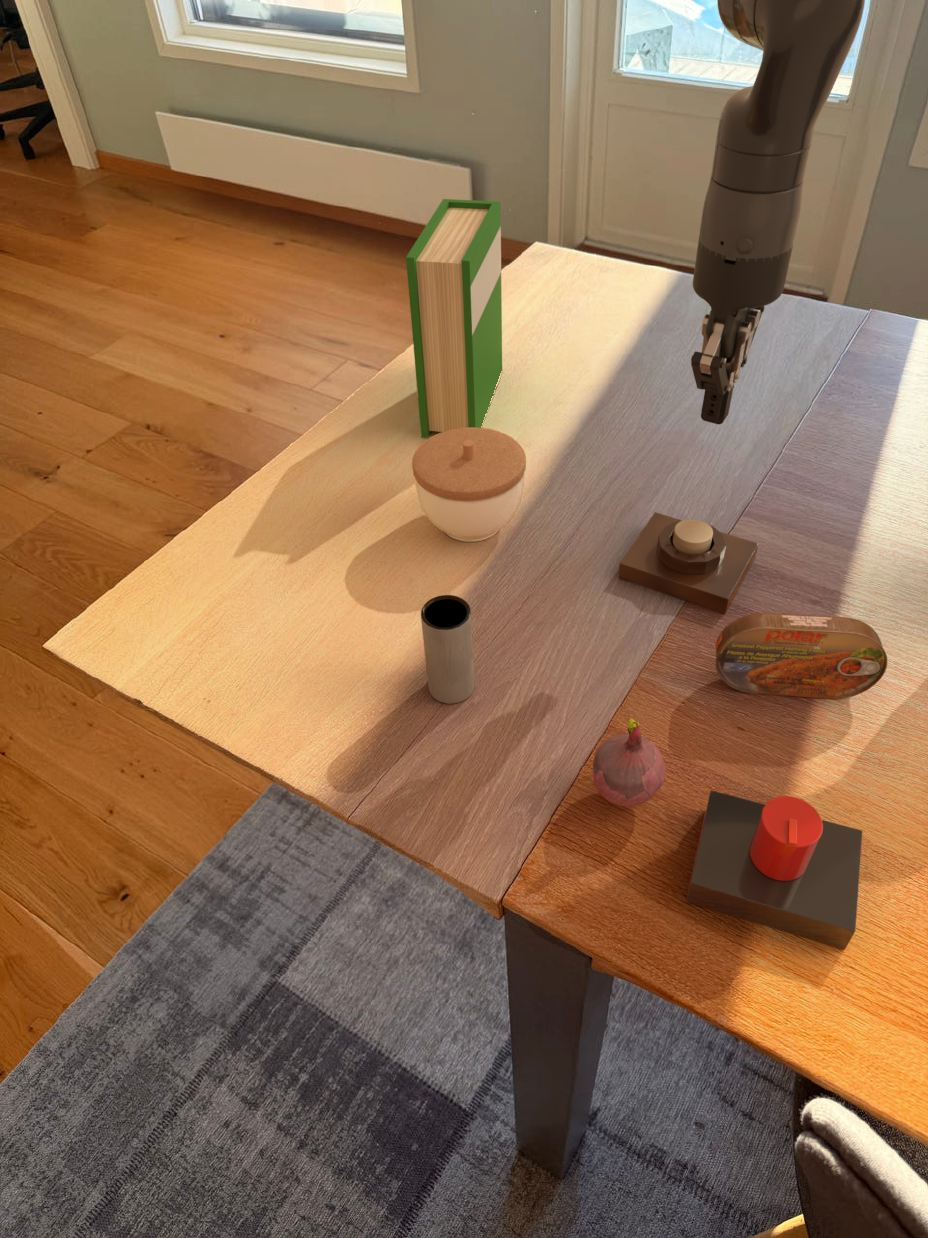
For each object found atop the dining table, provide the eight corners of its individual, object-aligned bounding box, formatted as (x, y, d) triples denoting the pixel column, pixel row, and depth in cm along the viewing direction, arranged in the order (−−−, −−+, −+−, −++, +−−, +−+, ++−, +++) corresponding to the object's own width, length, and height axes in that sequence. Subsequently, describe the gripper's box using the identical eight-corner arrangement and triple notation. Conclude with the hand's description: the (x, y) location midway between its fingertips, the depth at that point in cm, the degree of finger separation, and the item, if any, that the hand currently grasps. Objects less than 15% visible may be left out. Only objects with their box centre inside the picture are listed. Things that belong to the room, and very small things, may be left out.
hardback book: (475, 442, 118) (469, 260, 101) (421, 436, 120) (405, 257, 103) (502, 373, 130) (500, 201, 113) (452, 369, 132) (443, 198, 115)
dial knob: (750, 826, 73) (763, 788, 69) (807, 837, 72) (823, 799, 68) (748, 874, 70) (761, 837, 66) (808, 886, 69) (824, 850, 65)
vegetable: (655, 766, 81) (669, 694, 74) (664, 826, 77) (679, 755, 69) (587, 766, 81) (594, 693, 74) (591, 825, 77) (599, 754, 70)
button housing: (755, 558, 100) (762, 530, 97) (725, 614, 94) (731, 586, 91) (652, 526, 105) (656, 499, 102) (618, 578, 99) (621, 550, 96)
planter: (418, 687, 89) (410, 612, 81) (451, 662, 91) (446, 587, 84) (451, 712, 86) (445, 637, 79) (484, 685, 88) (481, 610, 81)
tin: (709, 691, 87) (723, 629, 81) (707, 666, 89) (721, 605, 83) (873, 703, 85) (900, 641, 79) (867, 678, 87) (893, 616, 81)
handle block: (852, 850, 74) (862, 830, 72) (845, 950, 68) (855, 931, 66) (705, 809, 78) (710, 789, 75) (685, 902, 72) (690, 883, 70)
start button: (716, 538, 97) (718, 525, 96) (703, 560, 95) (705, 547, 94) (680, 527, 99) (682, 514, 98) (666, 548, 96) (668, 535, 95)
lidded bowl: (545, 510, 108) (547, 431, 100) (488, 571, 100) (485, 490, 92) (457, 478, 113) (452, 400, 105) (396, 534, 105) (387, 455, 98)
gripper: (728, 199, 79) (700, 377, 91) (673, 258, 71) (650, 444, 83) (815, 213, 76) (773, 395, 88) (767, 275, 68) (729, 465, 81)
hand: (713, 418), depth 86 cm, fingers closed
